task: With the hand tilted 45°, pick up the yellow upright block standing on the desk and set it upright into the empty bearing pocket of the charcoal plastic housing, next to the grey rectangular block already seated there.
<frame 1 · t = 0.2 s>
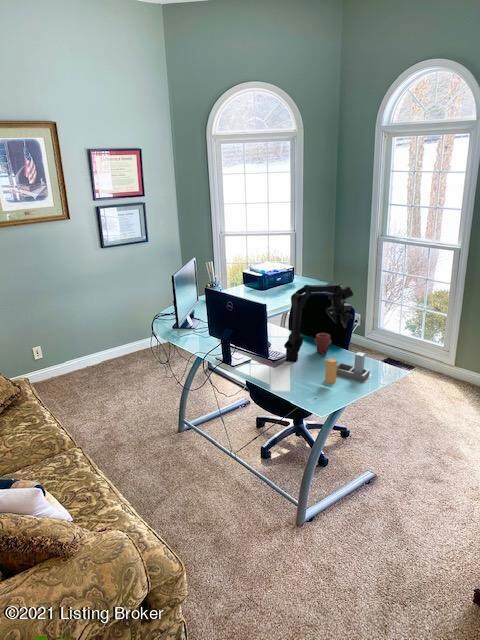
hand: (340, 325, 287), 15 cm above the table, tool pointing down, fingers open, 9 cm apart
mechanical component: (322, 352, 287), on the table
housing: (351, 375, 258), on the table
grey rectangular block: (358, 375, 256), point 1 cm above the table, touching housing
yellow upright block: (330, 382, 251), on the table
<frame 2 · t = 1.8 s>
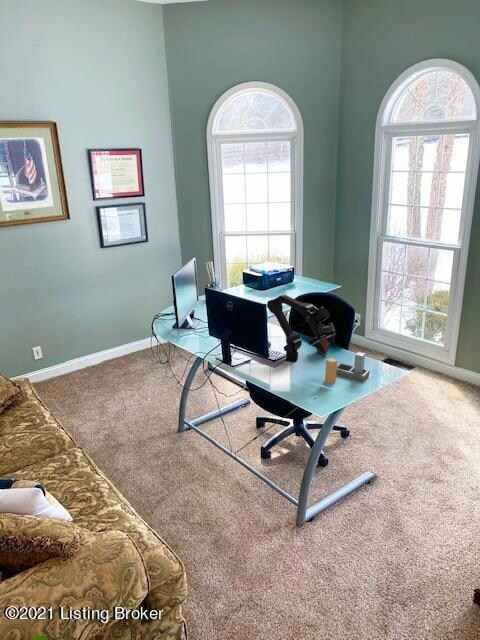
hand: (330, 350, 255), 14 cm above the table, tool tilted 40°, fingers open, 9 cm apart
nothing on the table moved.
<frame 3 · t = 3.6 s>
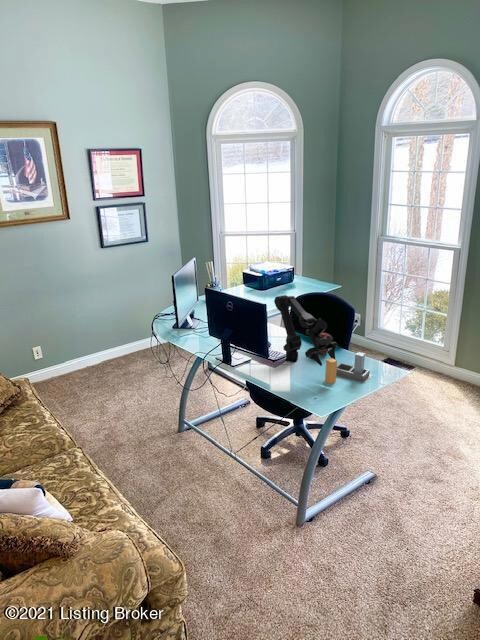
hand: (328, 363, 250), 10 cm above the table, tool tilted 45°, fingers open, 9 cm apart
nothing on the table moved.
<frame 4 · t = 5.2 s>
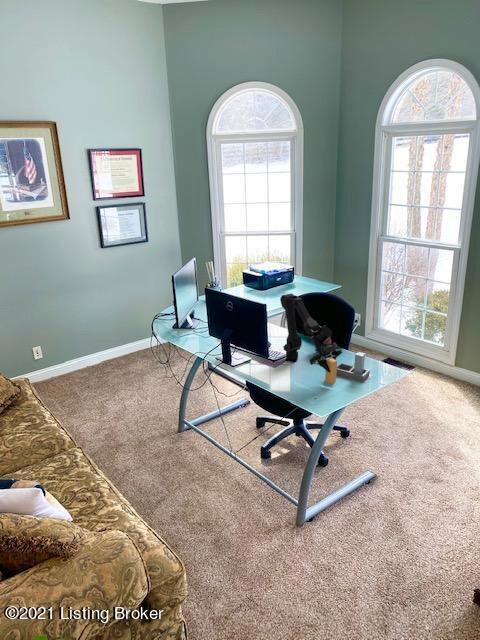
hand: (332, 371, 248), 7 cm above the table, tool tilted 45°, fingers closed on yellow upright block, 4 cm apart
yellow upright block: (330, 382, 251), on the table, touching gripper
everything else where it was.
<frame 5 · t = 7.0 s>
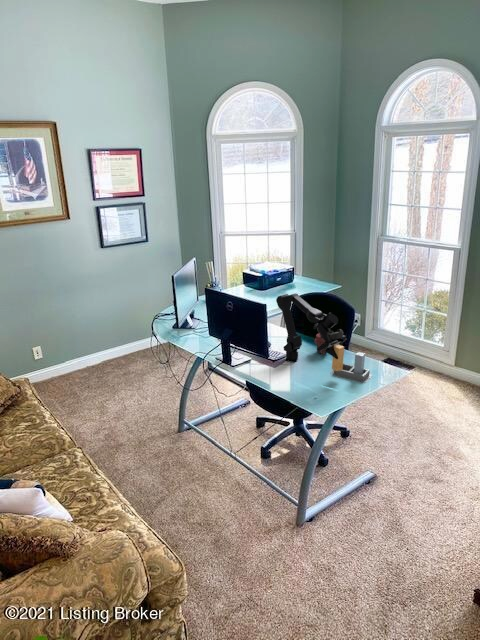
hand: (340, 357, 248), 13 cm above the table, tool tilted 45°, fingers closed on yellow upright block, 4 cm apart
yellow upright block: (337, 368, 252), point 6 cm above the table, touching gripper
everything else where it was.
when the fingers open (9 cm above the table, at t = 9.0 s): yellow upright block drops 1 cm, resting on housing.
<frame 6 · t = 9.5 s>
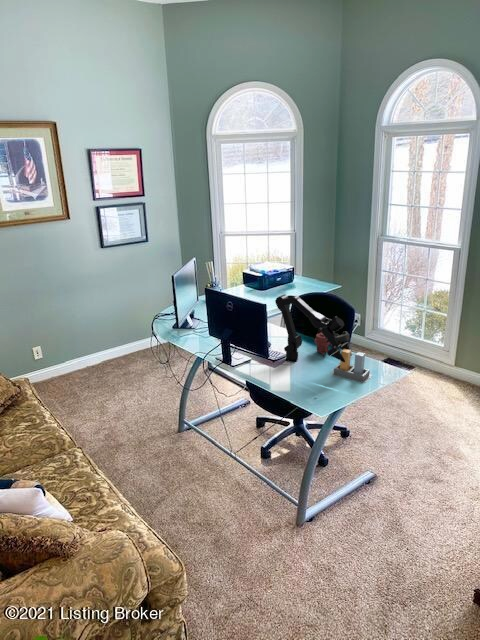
hand: (348, 358, 257), 9 cm above the table, tool tilted 45°, fingers open, 9 cm apart
yellow upright block: (344, 372, 260), point 1 cm above the table, touching housing
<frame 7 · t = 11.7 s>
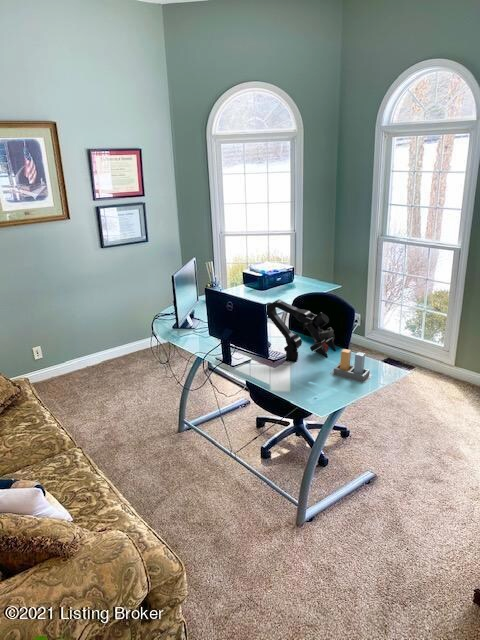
hand: (331, 354, 262), 10 cm above the table, tool tilted 40°, fingers open, 9 cm apart
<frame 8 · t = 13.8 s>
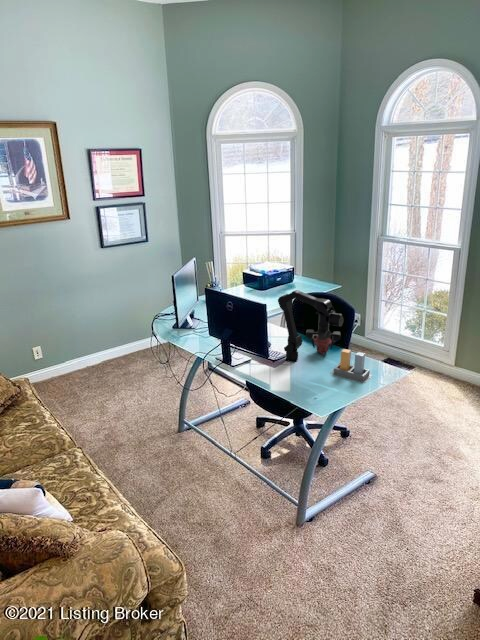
hand: (322, 348, 263), 12 cm above the table, tool pointing down, fingers open, 9 cm apart
at the end: yellow upright block 0.0 cm from the target spot on the housing, point 0.8 cm above the housing's base; yellow upright block tilted 0°; the gripper is holding nothing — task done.
